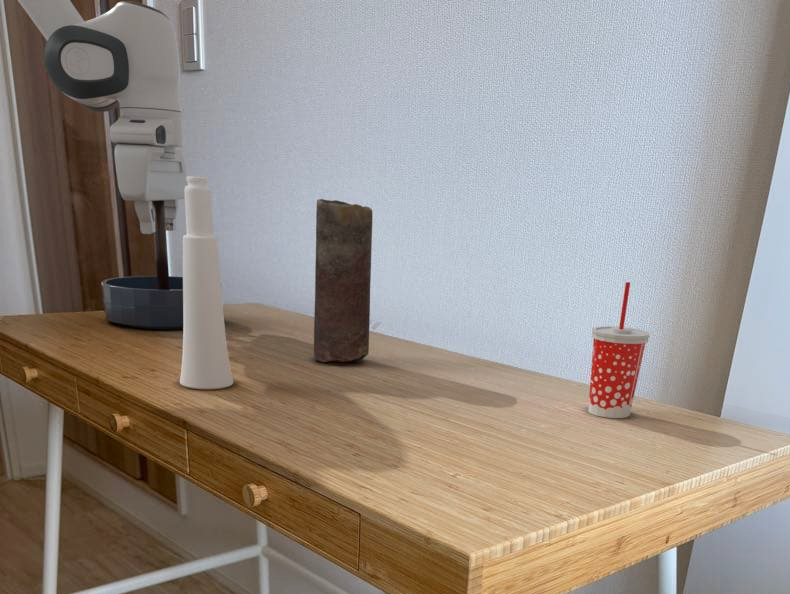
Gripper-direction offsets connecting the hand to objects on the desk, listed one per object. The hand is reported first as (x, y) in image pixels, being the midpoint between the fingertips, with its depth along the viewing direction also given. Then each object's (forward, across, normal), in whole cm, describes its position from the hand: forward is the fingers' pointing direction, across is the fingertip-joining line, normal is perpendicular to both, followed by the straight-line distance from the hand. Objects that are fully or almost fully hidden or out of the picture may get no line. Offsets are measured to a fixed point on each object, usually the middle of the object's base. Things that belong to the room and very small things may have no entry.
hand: (159, 232), depth 128 cm
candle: (+14, +22, +32) cm, 41 cm away
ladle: (+13, 0, 0) cm, 13 cm away
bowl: (+14, 0, 0) cm, 14 cm away
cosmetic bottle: (+14, +40, +19) cm, 46 cm away
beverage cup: (+14, +41, +65) cm, 78 cm away
